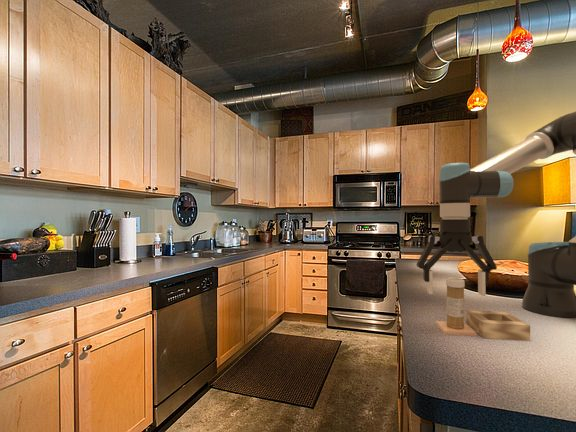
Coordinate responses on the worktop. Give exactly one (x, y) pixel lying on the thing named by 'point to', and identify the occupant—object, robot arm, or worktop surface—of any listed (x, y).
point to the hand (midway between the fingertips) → (455, 294)
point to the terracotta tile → (449, 330)
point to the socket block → (498, 325)
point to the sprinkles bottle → (455, 302)
